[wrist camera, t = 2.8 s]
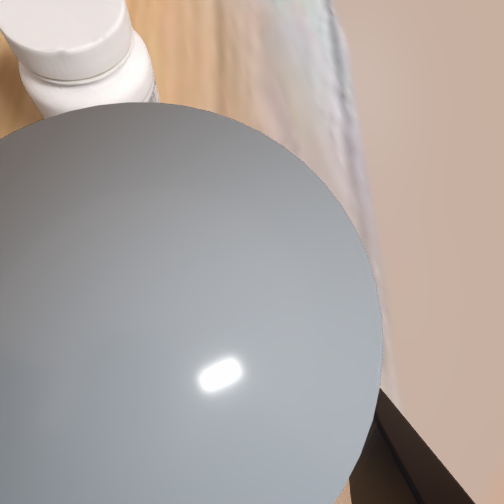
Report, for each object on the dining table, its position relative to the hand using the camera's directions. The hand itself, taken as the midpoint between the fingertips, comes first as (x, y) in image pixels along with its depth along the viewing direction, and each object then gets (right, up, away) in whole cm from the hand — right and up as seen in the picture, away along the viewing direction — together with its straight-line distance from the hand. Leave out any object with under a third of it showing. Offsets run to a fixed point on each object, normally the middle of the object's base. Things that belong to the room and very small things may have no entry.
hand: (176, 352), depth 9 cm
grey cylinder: (-1, -3, +7) cm, 8 cm away
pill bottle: (-5, +7, +11) cm, 14 cm away
